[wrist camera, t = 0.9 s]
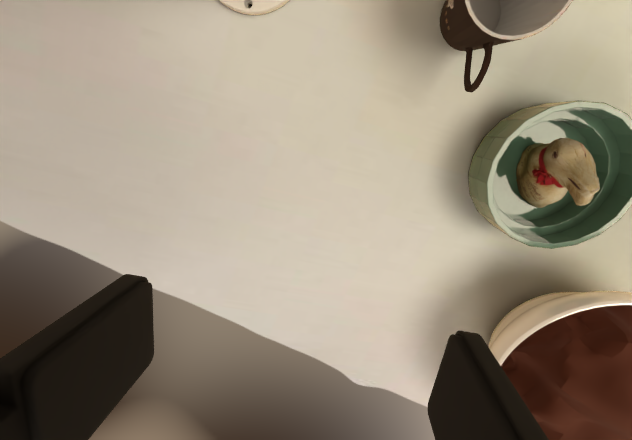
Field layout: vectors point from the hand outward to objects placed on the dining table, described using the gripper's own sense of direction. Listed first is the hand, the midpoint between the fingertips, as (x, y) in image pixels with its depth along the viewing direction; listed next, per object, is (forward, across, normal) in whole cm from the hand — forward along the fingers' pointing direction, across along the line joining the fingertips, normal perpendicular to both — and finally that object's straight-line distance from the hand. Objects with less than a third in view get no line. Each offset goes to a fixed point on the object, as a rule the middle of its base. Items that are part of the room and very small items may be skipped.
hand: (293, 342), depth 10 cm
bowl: (+31, -24, -4) cm, 40 cm away
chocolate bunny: (+31, -24, -4) cm, 39 cm away
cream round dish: (+32, -34, +18) cm, 50 cm away
